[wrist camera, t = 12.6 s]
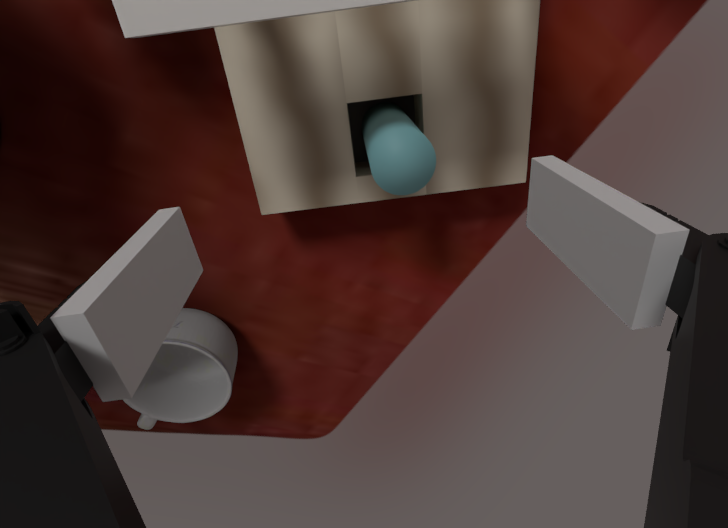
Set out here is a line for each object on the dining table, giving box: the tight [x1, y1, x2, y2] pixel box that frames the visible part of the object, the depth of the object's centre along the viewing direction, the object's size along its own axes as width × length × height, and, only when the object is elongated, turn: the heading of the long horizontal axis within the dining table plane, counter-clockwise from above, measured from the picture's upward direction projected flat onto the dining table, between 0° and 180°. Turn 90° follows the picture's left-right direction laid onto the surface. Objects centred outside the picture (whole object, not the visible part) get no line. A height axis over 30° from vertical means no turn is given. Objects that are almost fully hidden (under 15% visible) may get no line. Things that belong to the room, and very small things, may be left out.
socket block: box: [214, 0, 540, 215], centre depth 31 cm, size 22×20×5 cm
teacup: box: [122, 308, 238, 430], centre depth 43 cm, size 14×11×8 cm
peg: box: [362, 102, 436, 195], centre depth 30 cm, size 4×4×12 cm
